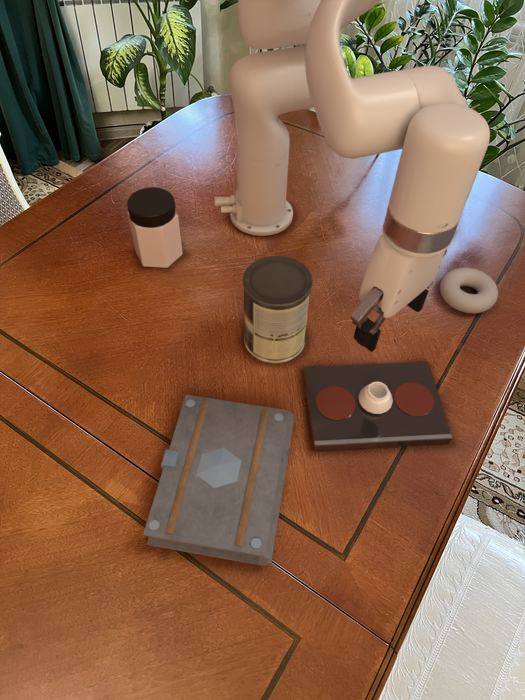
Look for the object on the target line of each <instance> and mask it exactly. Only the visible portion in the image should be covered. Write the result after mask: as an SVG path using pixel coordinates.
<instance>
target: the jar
mask: <svg viewBox="0 0 525 700" xmlns="http://www.w3.org/2000/svg"><path fill="white" fill-rule="evenodd" d="M126 206H127V207H126V208H127V218H128V223H129V227H130V232H131V236H132V237H131V238H132V241H133V246H134V251H135V254H136V255H137V257H138V259H139V261H140V263H141V265H142V267H146V268H147V267H148V268H163V269H168V268H169V267H170V266H172V264H173V263H175V262H176V261H177V260H178V259H179V258H180V257H182V256H183V254H184V253H183V244H182V237H181V228H180V220H179V219H180V218H179V215H178V213H177V210H176V209H177V207H176V202H175V197H174V196H173V194H172V193H171V192H170V191H169V190H167V189H164V188H162V187H158V186H157V187H156V186H151V187H144V188H140V189H138V190H135V191H134V192H132V193H131V194H130V195H129V197H128V198H127V201H126Z"/></svg>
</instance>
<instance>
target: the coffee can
mask: <svg viewBox="0 0 525 700" xmlns="http://www.w3.org/2000/svg"><path fill="white" fill-rule="evenodd" d="M313 282H314V280H313V275H312V273H311V271H310V270H309V268H308V267H307V266H306V265H305V264H304V263H303V262H301V261H299V260H296V259H295V258H292V257H289V256H284V255H269V256H265V257H264V256H263V257H262V258H259V259H256V260H255V261H253V262H252V263H251V264H250V265H249V266H247V268H246V269H245V271H244V273H243V276H242V287H243V314H244V315H243V316H244V317H243V319H244V320H243V321H244V322H243V323H244V326H243V328H244V336H243V341H244V342H243V343H244V346H245V349H246V350H247V352H248V353H250V355H251V356H252V357H254V358H255V359H257V360H259V361H262V362H264V363H269V364H282V363H287V362H289V361H291V360H293V359H296V357H298V356H299V355H300V354H301V352H302V351H303V349H304V347H305V344H306V334H307V333H306V332H307V325H308V317H309V309H310V302H311V301H310V299H311V294H312V293H311V292H312V289H313V284H314V283H313Z"/></svg>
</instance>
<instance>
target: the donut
mask: <svg viewBox="0 0 525 700" xmlns="http://www.w3.org/2000/svg"><path fill="white" fill-rule="evenodd" d="M497 286H498V285H497V284H496V282H495V281H494V280H493V278H492V277H491V276H490V275H488V274H487V273H486V272H484V271H481V270H479V269H477V268H473V267H458V268H453V269H451V270H450V271H448V272H446V273H445V275H444V276H443V277H442V278H441V280H440V284H439V291H440V295H441V297H442V299H443V301H444V302H445V303H446V304H447V305H449V306H450V307H451V308H453V309H454V310H456V311H459V312H462V313H465V314H480V313H485V312H487V311H488V310H490V309H492V308H493V306H494V305H495V304H496V302H497V301H498V298H499V290H498V287H497ZM461 287H468V288H471V289H473V290H474V291H476V293H475V294H473V293H468V292H465V291H464V290H463V289H462V288H461Z"/></svg>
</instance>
